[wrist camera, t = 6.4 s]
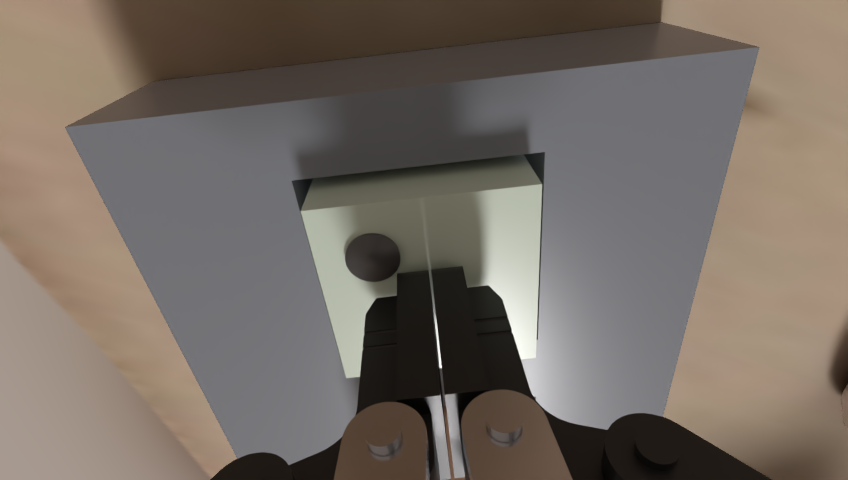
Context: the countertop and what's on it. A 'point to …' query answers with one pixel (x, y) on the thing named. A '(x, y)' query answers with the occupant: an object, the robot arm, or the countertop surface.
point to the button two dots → (426, 239)
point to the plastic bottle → (845, 405)
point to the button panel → (419, 146)
